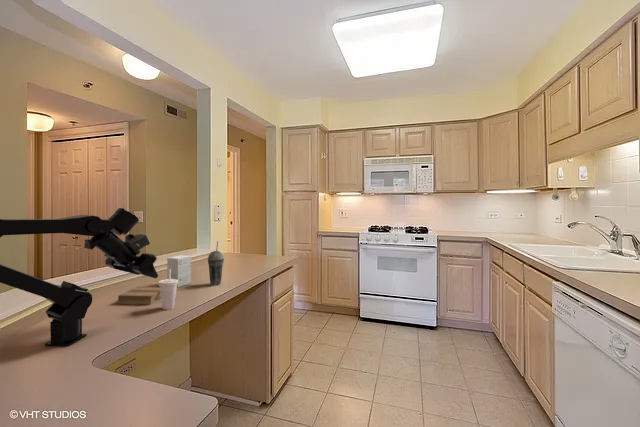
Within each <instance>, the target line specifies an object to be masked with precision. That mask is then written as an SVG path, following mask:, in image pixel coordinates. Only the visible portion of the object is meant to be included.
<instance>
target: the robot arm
mask: <svg viewBox="0 0 640 427" xmlns="http://www.w3.org/2000/svg"><path fill="white" fill-rule="evenodd" d="M139 222H140V220H139V218H138V217H137V215H135V214H133V213H132V212H130V211H129V210H126V209H125V208H124V207H118V208H117V209H116V210H115V212H114V213H113V214H112V215H111V216H110V217H108V219H102V218H101V217H99V216H97V215H89V214H88V215H87V214H78V215H72V216H71V215H70V216H67V217H66V216H65V217H61V218H42V219H41V218H36V219H35V218H34V219H33V218H28V219H27V218H24V219H23V218H22V219H21V218H19V219H18V218H17V219H13V218H12V219H11V218H10V219H9V218H8V219H6V218H5V219H2V218H0V238H2V237H4V236H17V235H20V236H21V235H46V234H47V235H48V234H67V235H79V236H86V237H90V238H87V239H86V238H85V239H84V246H83V248H84V249H86V250H93V249H95V248H96V249H98V250H99V251H101V252H102V253H104V256H105V257H106V259H105V265H106V266H107V267H109V268H111V269H114V270H116V271H117V270H118V271H121V272H125V273H130V274H133V275H137V276H139V275H140V276H141V275H142V276H145V277H150V278H153V279H157V278H158V277H159V274H158V272H157V270H156V269H155V266H154V263H156V261H157V260H158V257H157V256H156V255H155V254H153V253H148V252H143V253H142V254H141V255H139V254H140V253H141V251H140V250H141V249H143V248H145V247H146V246H149V245H150V244H151V242H150V240H149V238H148V236H147V235H146V234H142V233H141V234H132V233H129V232H130V231H131V230H132V229H133V228H135V226H136V225H137V223H139ZM121 235H122V236H123V235H124V236H125V239H124V241H123V239H121V238H120V237H119V236H121ZM61 282H62V283H61V284H60V285H59V284H54V283H51V282H48V281H46V280H44V279H41V278H38V277H35V276H32V275H30V274H27V273H25V272H24V271H23V272H22V271H19V270H18V269H14V268H12V267H10V266H6V265H3V264H2V263H0V284H3V285H6V286H9V287H12V288H15V289H18V290H20V291H23V292H27V293H30V294H32V295H36V296H39V297H42V298H44V299H45V300H47V301H49V302H50V303H52V304H51V305H50V306H49V307H48V308H47V309H46V310H45V314H46V316H47V317H48V318H49V319H52V321H50V324H49V325H50V328H49V329H50V339H49V341H46V342H45V343H44V346H46V347H47V346H51V347H52V346H55V347H58V346H59V347H61V346H62V347H63V346H64V347H68V346H71V345H73V344H74V343H76V342H78V341H79V340H82V339H83V338H85V337H87V336H88V333H83V319H85V318H86V317H85V316H86V314H87V312H88V309H89V308H90V306H91V305H92V303H93V294H92V293H90V292H88V291H89V288H85V287H82V286H79V285H77V284H75V283H72V282H69V281H65V280H63V281H61Z"/></svg>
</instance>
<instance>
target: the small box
mask: <svg viewBox="0 0 640 427" xmlns="http://www.w3.org/2000/svg"><path fill="white" fill-rule="evenodd" d="M166 262H167V263H166V265H167V270H166V272H167V273H166V277H167V278H166V279H169V269H171V279H177V280H178V284H177V289H178V288H180V287H184V286H187V285H190V284H192V256H191V255H183V254H182V255H180V254H179V255H175V256H170V257H167V260H166Z"/></svg>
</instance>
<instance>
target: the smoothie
mask: <svg viewBox="0 0 640 427" xmlns="http://www.w3.org/2000/svg"><path fill="white" fill-rule="evenodd" d="M177 284H178V280H177V279H171V269H169V279H167V278H166V279H162V280H159V281H158V284H157V285H158V286H159V287H160V293H161V299H160V300H161V307H162V310H172V309H174V308H175V303H176V296H177V289H178V288H177Z"/></svg>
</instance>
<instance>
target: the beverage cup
mask: <svg viewBox="0 0 640 427" xmlns="http://www.w3.org/2000/svg"><path fill="white" fill-rule="evenodd" d="M218 247H219V241H216V249H215V250H214V251H211V252H210V253H209V254H208V257H207V264H208V271H209V274H208V275H209V282H210V284H211V285H210V286H212V285H217V286H220V285H221V284H222V276H223V264H224V260H225V258H224V255H223V252H220V251H218V250H219V249H218ZM219 284H220V285H219Z"/></svg>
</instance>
